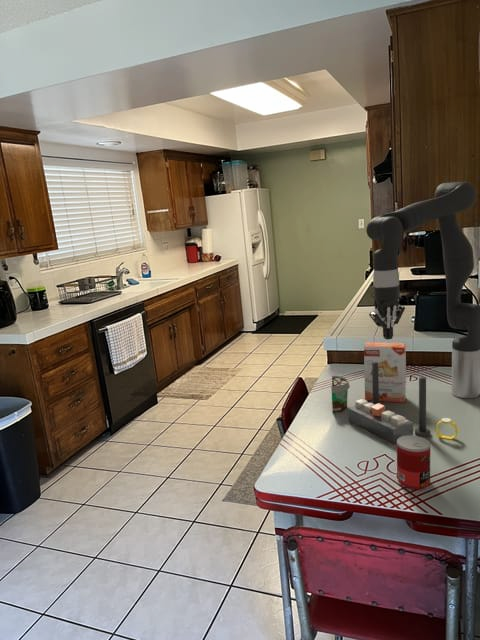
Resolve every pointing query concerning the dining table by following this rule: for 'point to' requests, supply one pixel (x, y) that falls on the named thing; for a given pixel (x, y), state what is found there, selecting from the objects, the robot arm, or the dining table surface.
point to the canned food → (413, 462)
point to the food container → (339, 393)
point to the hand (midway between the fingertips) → (388, 338)
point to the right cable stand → (422, 410)
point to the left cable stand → (375, 382)
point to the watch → (446, 421)
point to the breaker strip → (379, 422)
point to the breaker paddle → (378, 409)
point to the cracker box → (386, 370)
